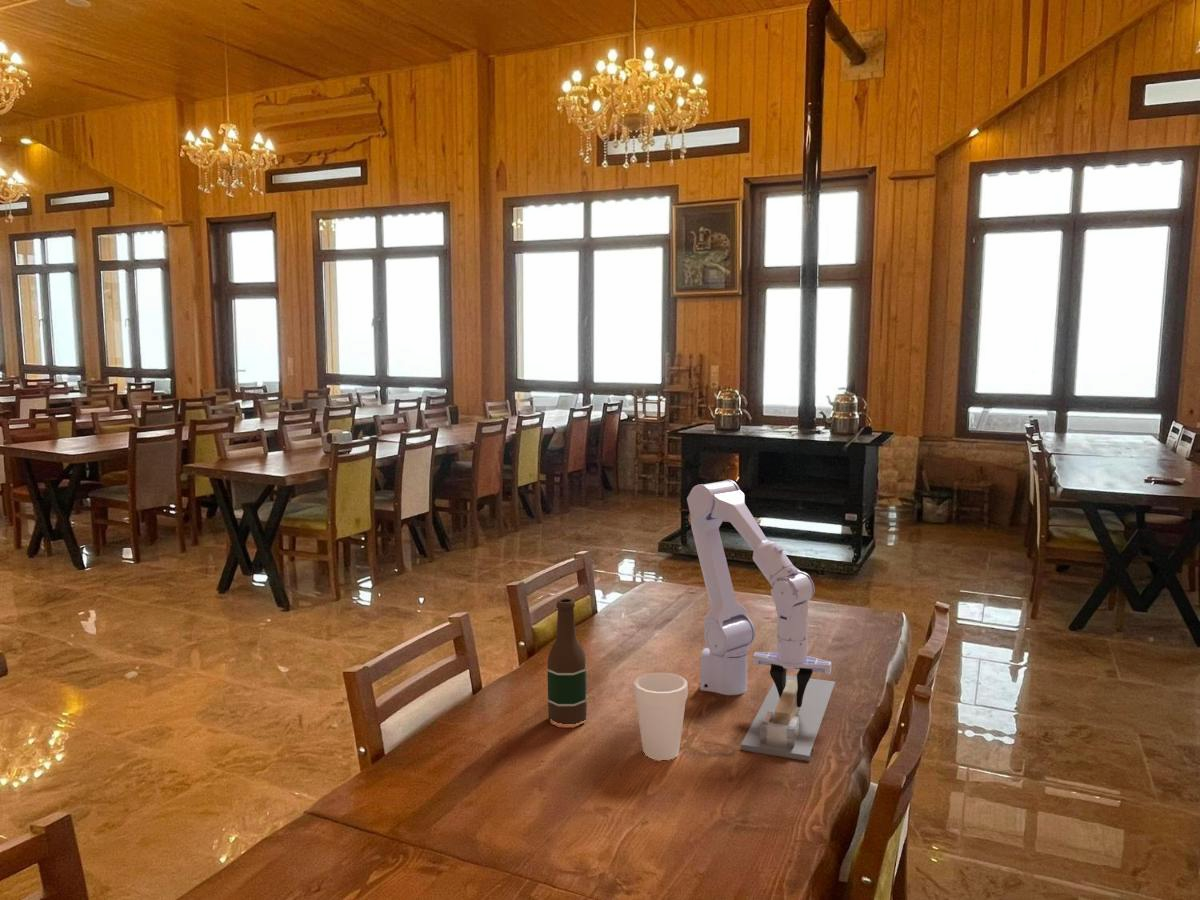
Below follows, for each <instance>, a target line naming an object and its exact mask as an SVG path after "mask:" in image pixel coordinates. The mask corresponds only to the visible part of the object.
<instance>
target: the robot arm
mask: <svg viewBox="0 0 1200 900" xmlns="http://www.w3.org/2000/svg"><path fill="white" fill-rule="evenodd" d="M745 496H746V495H745V493H744V492H743V491H742V490H741V489H740V487H739V485H738V484H737V483H736V482H735V481H734V480H732V479H725V480H722V481H717V482H711V483H705V484H703V483H701V484H697V485H695V486H693V487H692V489H691V490H690V492H689V493H688V496H687V498H686V501H687V506H688V510H689V514H690V527H691V532H692V535H693V539H694V544H695V548H696V553H697V556H698V561H699V564H700V569H701V572H702V573H701V574H702V577H703V581H704V585H705V589H706V594H707V598H708V604H709V607H710V608H709V610H708V611H707V613H706V614H705V616H704V618H703V621H702V622H703V625H704V633H703V639H704V643H705V645H706V647H704V648H703V650H702V652H701V655H700V662H699V664H700V666H699V670H700V671H699V674H700V675H699V690H700V691H705V692H710V693H711V692H713V693H716V694H720V695H725V696H737V695H742V694H744V693H746V692H747V690H748V651H749V650H750V645H751V644H752V643H754V641H755V638H756V628H755V625H754V623H753V622H752V620H751V618H750V616H749V614H748V609H747V608H745V607H744V606H743V605H742V604H740V603H738V601H737V599H736V595H735V590H734V586H733V582H732V579H731V578H732V577H731V574H730V569H729V567H728V561H727V557H726V554H725V551H724V550H725V549H724V545H723V541H722V538H721V534H720V527H721V525H722V524H723V522H724V521H726V522H729V523H730V524H731V525H732V526H733V528H734V529H735V530H736V531H737V532H738V534H739V535H740V536H741V537H742V538H743V540H744V541H745V542H746V543H747V544H748V546H750V548H751V550H753V553H752V560H753V562H754V564H755V565H756V566H757V568H758V569H759V570H760V572H761V573H762V575H763V576H764V578H765V579H766V580H767V582H768V583H769V584H770V586H771V587H772V588H771V589H770V595H771V599H772V601H773V602H774V604H775V605H774V606H775V612H776V614H777V615H776V618H777V619H776V624H777V625H776V652H761V651H760V652H759V651H755V652H754V653H753V656H752V657H753V660H752V663H753V665H754V666H760V665H762V666H763V665H764V666H769V667H770V669H769V675H770V677H771V678H772V681H773V683H775V685H776V688H777V690H778V694H779V698H780V697H781V695H782V693H783V690H784V688H785V686H786V675H787V670H794V669H795V670H798V671H797V673H796V677H797V688H798V693H797V707H801V705H802V700H803V695H804V691H805V688H806V686H807V683H808V681H809V679H810V678H811V677H812V675H813V673H814V672H817V673H823V674H824V675H829V676H830V674H831V672H832V661H830V660H825V659H820V658H817V657H813V656H809V655H808V639H809V638H808V637H809V636H808V635H809V634H808V633H809V632H808V630H809V629H808V628H809V627H808V626H809V625H808V624H809V623H808V622H809V602H808V601H811V600H812V599H813V597H814V595H815V589H816V588H815V584H814V581H813V579H812V578H811V576H810V574H808V573H807V572H805V571H802V570H800V569H799V568H798V567H796V566H794V564H793V563H792V562H791V560H790V559H789V558H788V556H787V555H786V553H785V552H784V548H783V547H782V546H781V544H778V542H777V541H771V540H769V539H767V537H766V535H765V534H764V532H763V530H762V529H761V527H760V525H759V524H758V522H757V521H756V519H755V518H754V516H753V514H752V513H751V511H750V510H749V508H748V506H747V505H746V503H745V502H746V499H745ZM706 685H707V686H706Z"/></svg>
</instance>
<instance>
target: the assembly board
mask: <svg viewBox="0 0 1200 900" xmlns="http://www.w3.org/2000/svg"><path fill="white" fill-rule="evenodd" d="M788 680H795V681H797V675H787V674H786V684H787V681H788ZM835 684H836V681H833V680H825V679H817V678H811V677H810V679H809V681H808V683H807V686H806V688H805V691H804V695H803V700H802V705H801V707H799V709H798V712H797V715H796V716H799V735H798V738H797V741H796V743H795V746H794V748H788V747H782V746H776V745H770V744H764V743H760V724H761V722H762V720H763V718H764V716H765V714H766V712H773V723H774V711H775V709H776V707H777V704H778V702H779V700H780V698H779V694H778V690H777V688H776V685H775V683H774V682H773V683H772V686H771V687H770V688H769V691H768V692H767V695H766V696H765V697H764V700H763V703H761V705H760V708H759V709H758V711H757V714H756V716H755V717H754V719H753V720H752V722H751V725H750V727H749V728H748V731H747V733H746V735H745V737H744V738H743V740H742V742H741V744H740V750H741V751H746V752H752V753H758V754H763V755H768V756H769V755H770V756H775V757H777V756H778V757H782V758H786V759H793V760H799V761H804V760H805V761H806V762H810V760H811V758H810V757H812V755H813V752H814V748H813V746H814V744H815V741H816V738H817V735H818V732H819V730H820V727H821V725H822V721H823V718H824V715H825V712H826V710H827V706H828V704H829V701H830V698H831V695H832V692H833V689H834V686H835Z"/></svg>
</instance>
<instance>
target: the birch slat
mask: <svg viewBox="0 0 1200 900" xmlns="http://www.w3.org/2000/svg"><path fill="white" fill-rule="evenodd" d="M797 693H798V688H797V681H795V680H788V681H787V684H786V686H785V688H784V690H783V693H782V695H781V697H780V700H779V702H778V704H777V707H776V709H775V711H774V724H781V725H787V726H788V725H789V722H790V720H791V718H792V715H793V716H796V715H797V712H798V709H799V707H797Z"/></svg>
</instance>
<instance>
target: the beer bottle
mask: <svg viewBox="0 0 1200 900" xmlns="http://www.w3.org/2000/svg"><path fill="white" fill-rule="evenodd" d="M575 606H576V602H575V600H574V599H571V598H561V599H558V600H557V602H556V606H555V607H556V608H557V619H556V621H557V623H556V637H555V641H554V642H553V644H552V646H551V648H550V652H549V655H548V658H547V670H546V671H547V704H548V705H547V706H548V707H547V708H548V710H547V711H548V720H549V719H552V720H553V721H555V722H557V723H562V724H576V723H579V722H581V721H584V720H587V707H588V705H587V703H588V702H587V700H588V699H587V659H586V653H585V650H584V648H583V646H582V644H581V643H580V642H579V641H578V638H577V633H576V631H577V630H576V622H575V621H576V620H575Z"/></svg>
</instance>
